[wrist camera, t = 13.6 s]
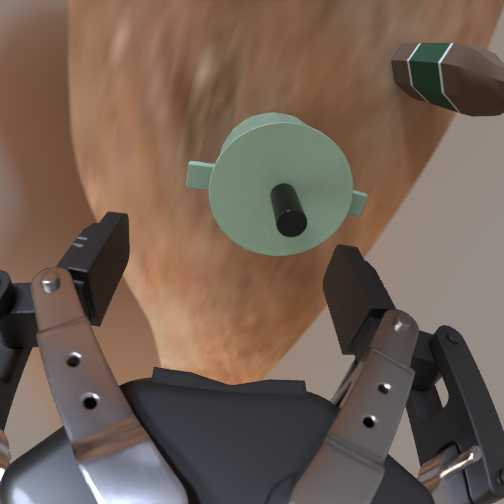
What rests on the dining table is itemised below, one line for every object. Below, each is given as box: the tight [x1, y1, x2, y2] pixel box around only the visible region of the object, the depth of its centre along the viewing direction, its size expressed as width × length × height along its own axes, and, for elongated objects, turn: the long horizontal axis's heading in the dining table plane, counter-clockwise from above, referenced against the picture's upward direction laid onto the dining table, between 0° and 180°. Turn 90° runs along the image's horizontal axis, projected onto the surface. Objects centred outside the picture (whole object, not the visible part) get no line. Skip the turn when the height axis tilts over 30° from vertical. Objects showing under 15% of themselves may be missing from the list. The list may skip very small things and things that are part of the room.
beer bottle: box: [391, 43, 504, 116], centre depth 18 cm, size 8×8×24 cm
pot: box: [186, 112, 368, 216], centre depth 32 cm, size 13×18×10 cm
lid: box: [209, 122, 353, 256], centre depth 26 cm, size 14×14×7 cm
